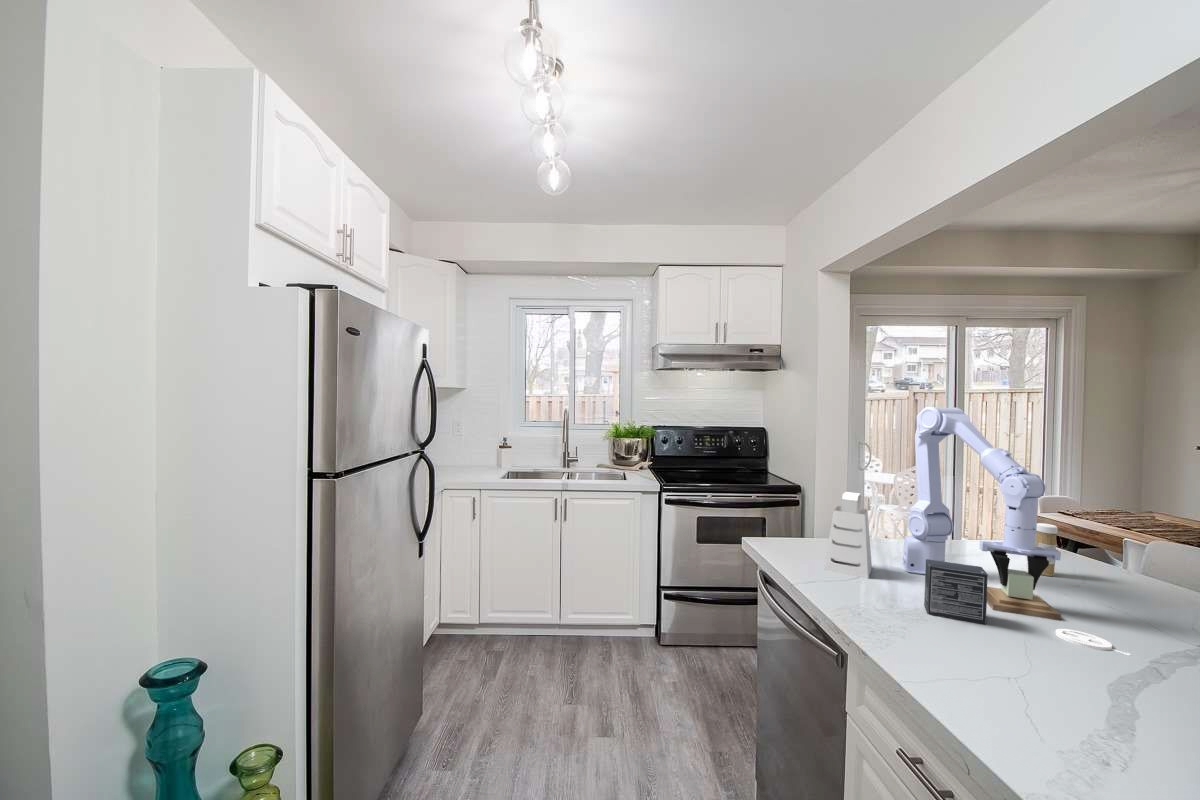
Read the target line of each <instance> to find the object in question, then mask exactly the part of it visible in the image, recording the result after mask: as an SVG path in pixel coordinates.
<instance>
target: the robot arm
mask: <svg viewBox="0 0 1200 800" xmlns="http://www.w3.org/2000/svg"><path fill="white" fill-rule="evenodd" d="M951 435H955V436H957V437H958V438H959V439H960V440H962V442H963V443H965V444H966V446H969V447H970V448H971V450H973V451H974V452H975V453H976V454H977V455H979V456H980V465H982V467H983V468H984V469H985V470H986V471H987V472H988V473H989V474H990V475H991V476H992V477H994V479H995V480H996V481H997V482H998V483H999V490H1000V492H1001V494H1002V495H1003V498H1004V501H1003V502H1004V504H1005V512H1004V530H1003V531H1004V533H1003V541H1002V542H1001V541H985V540H980V541H979V550H980V551H982V552H985V553H986V552H990V555H991V556H992V559H993V561H994V563H995V566H996V568H997V572H998V575H999V576H998V577H999V582H1000V585H1003V586H1007V581H1008V569H1009V564H1010V562H1011V561H1010V560H1011V558H1010V557H1008V554H1010V555H1018V556H1026V559H1027V572H1028V573H1029V574H1030V575H1032V576H1033V577H1034V584H1033V591H1035V589H1036V586H1037V583H1038V581H1039V579H1040V577H1041V574H1042V572H1043V571H1044V570H1045V569H1046V568H1047V567H1048V565H1049V561H1048V560H1047V558H1049V559H1054V560H1055V561H1061V556H1062V555H1061V554H1062V553H1061V551H1060V550H1058V549H1056V550H1055V549H1048V548H1042V547H1036V530H1037V523H1038V511H1039V510H1038V508H1039V499H1040V498H1042V496H1044V494H1045V493H1046V485H1045V481H1044V480H1043V479H1042V478H1041V476H1040V475H1039V474H1036V473H1033V472H1029V471H1027V468H1025V466H1021V464H1020V463H1018V462H1017V460H1015V459H1014V458H1013V457H1012V453H1011V452H1010V451H1009V450H1005V449H1004V448H997V447H996V448H995V446H993V445H992V444H991V443H990V442H989V440H988V439H987V438H986V437H985V436H984V435H983V434H982V432H980V430H979V429H977V427H976V426H975V425H974V424H973V423H972V422H971V417H970V416H969V415H968V414H966V413H965V412H964V411H963V409H962V408H961V409H960V407H935V406H926V407H924V408H923V409H922V410H920V412H919V413H918V414H917V415H916V431H915V434H914V448H915V451H914V453H915V463H916V464H915V468H916V469H915V471H916V486H917V488H916V491H917V501H916V502H915V503H914V504H913V505H912V506H911V508H909V518H908V519H907V528H908V530H909V532H910V533H911V535H905V537H904V540H903V541H904V542H903V553H902V554H903V555H902V565H903V568H904V569H905V570H906V572H908V573H912V574H917V575H918V574H919V575H925V571H926V559H929V560H936V561H943V562H946V561H945V560H946V544H947V541H948V539H949V536H950V535H952V533H953V532H954V528H955V527H954V522H953V519H952V517H951V514H950V508H948V506H946V505H945V504H944V503H943V498H942V497H943V496H942V479H941V463H940V462H941V459H940V445H939V444H940V443H941V442H942V441H943V440H944V439H945V438H947V437H950V436H951Z"/></svg>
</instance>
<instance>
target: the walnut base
mask: <svg viewBox="0 0 1200 800" xmlns="http://www.w3.org/2000/svg"><path fill="white" fill-rule="evenodd" d="M987 606H989V607H990V608H991V609H992V610H993V611H999V612H1005V613H1011V614H1017V615H1018V614H1019V615H1024V616H1031V617H1037V618H1043V619H1050V620H1057V621H1061V620H1062V614H1061V613H1060V612H1059V611H1058V610H1056V609H1055V608H1054V607H1053V606H1051V605H1050V604H1049V603H1048V602H1047V601H1045V600H1044V599H1043V598H1042V597H1041V596H1040V595H1038V594H1035V593H1033V600H1031V599H1024V598H1017V597H1010V596H1007V595H1006V594H1005V593H1004V592H1003V591H1002V590H1001V588H1000V587H999V588H998V587H992V586H987Z"/></svg>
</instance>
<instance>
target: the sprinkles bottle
mask: <svg viewBox="0 0 1200 800" xmlns="http://www.w3.org/2000/svg"><path fill="white" fill-rule="evenodd" d="M1058 531H1059V530H1058V526H1056V524H1055V525H1054V524H1051V523H1042V522H1037V530H1036V547H1042V548H1048V549H1055V550H1057V535H1058ZM1047 560H1048V561H1049V565H1048V567H1047V568H1046V569H1045V570H1044V571H1043V572H1042V574H1041V575H1042V576H1046V577H1054V576H1055V574H1056V573H1055V569H1056V568H1055V565H1056V560H1054V559H1049V558H1047ZM1041 575H1040V576H1041Z"/></svg>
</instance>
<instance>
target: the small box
mask: <svg viewBox="0 0 1200 800" xmlns="http://www.w3.org/2000/svg"><path fill="white" fill-rule="evenodd" d="M924 575H925V576H924V577H925V578H924V598H923V599H924V601H923V606H924V609H925V612H926V614H927V615H931V616H935V617H942V618H946V619H953V620H957V621H958V620H959V621H965V622H970V623H976V624H980V625H987V624H988V620H987V606H988V604H987V587H988V577H989V574H988V573H987V571H986V570H985V569H984V568H983V567H982V566H979V565H972V564H965V563H964V564H963V563H955V562H949V561H945V562H943V561H936V560H929V559H926V571H925V574H924Z"/></svg>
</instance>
